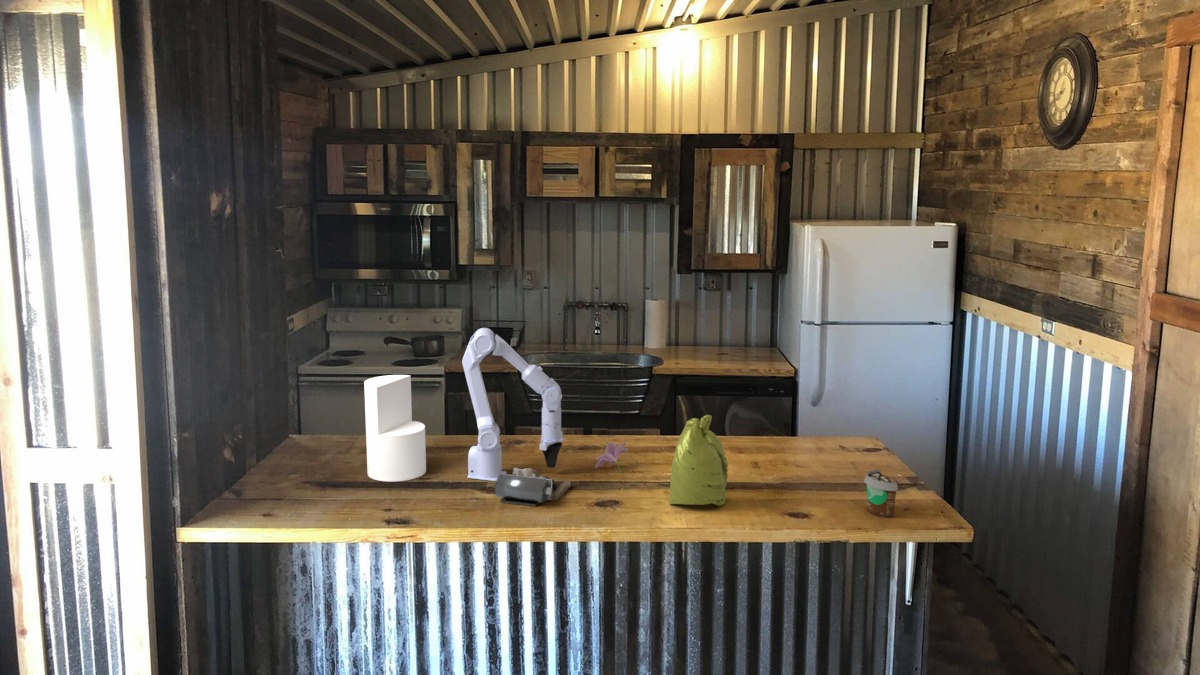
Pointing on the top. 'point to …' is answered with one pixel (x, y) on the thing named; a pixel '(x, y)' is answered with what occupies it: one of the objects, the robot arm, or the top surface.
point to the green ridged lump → (698, 466)
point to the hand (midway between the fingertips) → (551, 466)
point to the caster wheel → (531, 474)
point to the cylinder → (393, 430)
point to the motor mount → (527, 489)
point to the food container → (880, 494)
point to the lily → (611, 454)
